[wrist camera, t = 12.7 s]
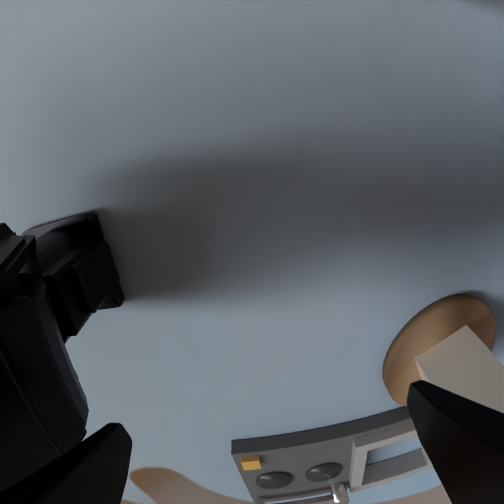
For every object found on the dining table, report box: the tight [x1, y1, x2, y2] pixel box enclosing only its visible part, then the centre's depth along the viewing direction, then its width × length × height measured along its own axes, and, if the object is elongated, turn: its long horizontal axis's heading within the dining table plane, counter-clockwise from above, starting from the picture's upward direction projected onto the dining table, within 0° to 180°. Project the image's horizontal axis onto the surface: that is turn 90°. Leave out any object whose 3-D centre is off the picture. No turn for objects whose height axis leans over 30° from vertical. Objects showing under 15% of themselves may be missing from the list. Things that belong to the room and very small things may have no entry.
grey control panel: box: [231, 406, 433, 503], centre depth 26 cm, size 21×12×3 cm, turn 100°
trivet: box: [383, 294, 496, 406], centre depth 22 cm, size 11×11×1 cm
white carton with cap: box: [415, 325, 504, 413], centre depth 16 cm, size 5×5×13 cm
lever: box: [256, 482, 349, 504], centre depth 28 cm, size 10×2×4 cm, turn 100°
